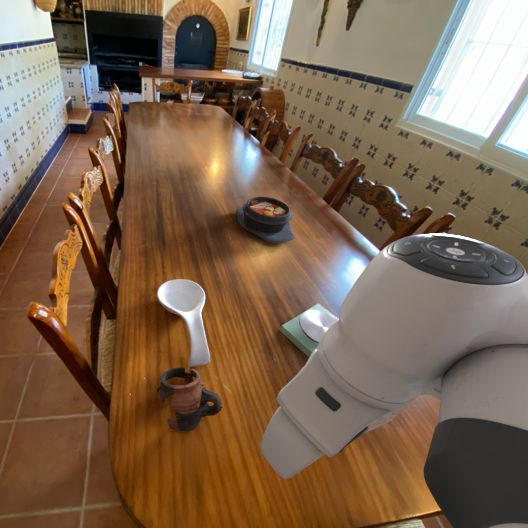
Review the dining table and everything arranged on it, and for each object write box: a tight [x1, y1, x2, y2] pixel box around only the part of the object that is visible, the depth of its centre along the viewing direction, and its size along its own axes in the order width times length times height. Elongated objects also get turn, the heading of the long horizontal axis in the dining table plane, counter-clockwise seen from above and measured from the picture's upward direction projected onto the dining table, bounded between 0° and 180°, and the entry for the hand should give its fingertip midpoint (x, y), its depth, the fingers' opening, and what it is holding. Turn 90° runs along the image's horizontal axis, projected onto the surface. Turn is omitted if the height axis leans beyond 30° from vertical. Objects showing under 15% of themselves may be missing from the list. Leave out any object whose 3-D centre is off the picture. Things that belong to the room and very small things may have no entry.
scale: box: [279, 303, 339, 358], centre depth 67 cm, size 16×14×4 cm
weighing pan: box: [299, 310, 338, 344], centre depth 67 cm, size 10×10×1 cm
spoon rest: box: [156, 278, 211, 368], centre depth 68 cm, size 24×12×7 cm, turn 14°
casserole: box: [235, 195, 296, 244], centre depth 104 cm, size 25×19×8 cm
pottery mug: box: [156, 366, 224, 433], centre depth 54 cm, size 12×10×8 cm
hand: (311, 431), depth 39 cm, fingers closed on rook chess piece, 3 cm apart
